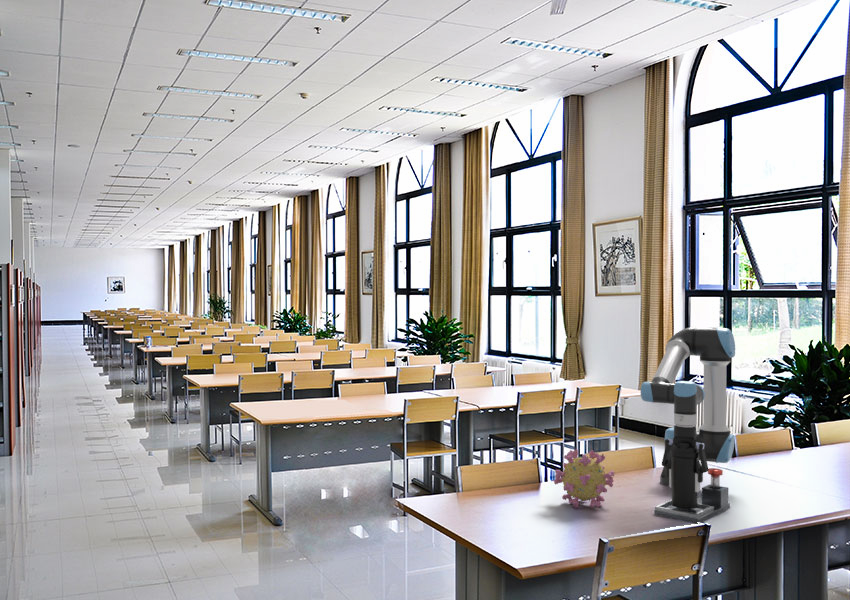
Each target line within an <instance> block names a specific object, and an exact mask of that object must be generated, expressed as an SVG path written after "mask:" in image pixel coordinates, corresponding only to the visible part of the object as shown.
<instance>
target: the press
mask: <svg viewBox="0 0 850 600" xmlns="http://www.w3.org/2000/svg"><path fill="white" fill-rule="evenodd" d="M730 508H731V503H729V487H726V486H721V485H720V489H719V490H718V489H712V488H711V483H710V484H707V485H705V486H703V487H701V497H698V496H697V508H694V509H682V508H677V507H674V506H672V498H671V499H669V500H667V501H663V502H662V503H659V504H658V505H655V506H654V511H653V513H654V514H653V515H655V516H659V517H664V518H669V519H674V520H680V521H683V522H687V523H688V522H689V523H693V524H698V523H697V522H701V523H702V522H705V521H706V520H708V519H710V518H713V517H714V516H716V515H718V514H719V513H722V512H724V511H726V510H727V509H730Z"/></svg>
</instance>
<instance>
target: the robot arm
mask: <svg viewBox="0 0 850 600" xmlns="http://www.w3.org/2000/svg"><path fill="white" fill-rule="evenodd" d="M664 349H665V353H664V355H663V357H662V359H661V361H660V363H659V365H658V367H657V370H656V371H655V374H654V375H653V377H652V379H651V381H644V382H642V383H641V386H640V397H641V400H642V401H643V402H647V403H652V404H653V403H655V404H657V403H658V404H671V405H673V424H674V426H673V427H669V428H667V429H665V433H664V440H663V441H664V453H663V457H662V461H661V466H662V471H661V473H660V476H659V483H660V484H661V485H664V486H665V485H666V486H668V487H669V488H671V456H670V448H671V447H672V446H673V445H674V444H678V442H687V443H689V445H690V446H692V447H695V446H696V447H697V448H698V450H699V456H700V457H699V460H698V461H696V470H697V473H695V492H697V493H699V492H700V491H701V483H703V481H704V475H703V474H705V473H706V472H707V473H708V469H709V465H708V462H709V463H710V462H711V463H716V464H719V463H720V464H728V463H729V462H730V461H731V459H732V457H733V453H734V448H735V435H734V434H732V433H731V428H730V427H728V426H727V366H728V365H729V364H730V363H731V358H734V357H735V356H736V343H735V337H734V335H733V332H732V330H731V329H729V328H727V327H726V328H725V327H720V326H719V327H718V326H717V327H701V326H700V327H697V326H690V327H686V328H683V329H681V330H679V331H677V332H676V333H675V334H673V336H671V338H669V340H668V341H667V343H666V345H665V348H664ZM689 356H695V357H696V356H697V357H699V361H700V362H701V363H702V365H703V387H702V386H701V385H700V384H697V383H696V382H695V381H688V380H685V381H682V380H680V381H679V380H678V381H676V382H675V380H676V377H677V375H678V374H679V372H680V369H681V367H682V365H683V363H684V361H685V360H686V359H688V357H689ZM702 402H703V407H702V409H703V411H702V412H703V414H702V417H703V418H702V419H703V420H702V421H703V423H702V425H700V426H699V427H698V428H699V430H698V431H697V427H696V425H697V405H700V404H701V403H702Z"/></svg>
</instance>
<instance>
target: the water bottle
mask: <svg viewBox="0 0 850 600" xmlns="http://www.w3.org/2000/svg"><path fill="white" fill-rule="evenodd" d="M670 456H671V489H670V490H671V492H670V493H671V499H672V506H674V507H677V508H682V509H694V508H697V497H698V492H695V473H697V470H696V461H698V460H699V457H700V456H699V450H698V448H697V447H696V446H695V447H692V446H690V445H689V443H687V442H678V444H674V445H673V446H672V447H671V448H670ZM699 461H700V460H699Z"/></svg>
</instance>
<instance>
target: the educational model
mask: <svg viewBox="0 0 850 600" xmlns="http://www.w3.org/2000/svg"><path fill="white" fill-rule="evenodd" d="M586 455H587V454H584V453H582V456H579V449H578V448H577V449H575V450H572V449H570V451H568V452H567V453H566V454H565V455H564V456H563V458H564V459H566V461H568V462H564V463H563V464H562V465H563V471H561V470H560V469H555V470H554V472H555V476H554V478H555V479H553V480H552V481H553V483H554V484H555V485H559V484H561V483H562V484H563V491H564V492H565V491H566V494H563V495H562V496H561V498H562V500H564V501H567V499H568V503H569V504H573V506H572V507H574V509H578V508H579V506H580V504H579V500H580V502H586V501H589V502H590V504H589V508H592V509H594V506H595V507H596V508H599V507H600V506H601V505H602V503H604V502H605V498H604V496H603V495H601V494H602V493H608V489H607V488H606V485H607V486H609V488H613V486H614V484H613V483H614V481H615V480H614V479H613V478H614V477H615V474H616V472H615V471H613V470H610V471H609V472H608V473H606V472H605V470H604V469H605V466H602V465H601V463H602V462H603V461H604V460H605V459H606V456H605V453H603V454H599V453H598V452H596V453H595V451H594V450H593V449H591V450H590V451H588V455H589V457H588V455H587V456H586Z"/></svg>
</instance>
